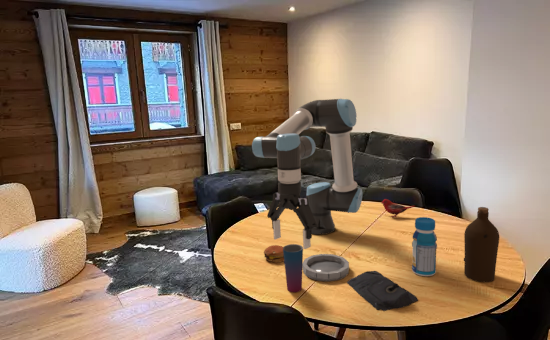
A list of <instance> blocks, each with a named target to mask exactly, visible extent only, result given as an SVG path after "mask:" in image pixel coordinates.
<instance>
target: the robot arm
mask: <svg viewBox="0 0 550 340" xmlns="http://www.w3.org/2000/svg"><path fill="white" fill-rule="evenodd" d="M357 118H358V117H357V109H356V106H355V104H354V102H353V101H352V100H351V99H349V98H346V99H344V98H332V99H331V98H330V99H329V98H328V99H315V100H313V101H310V102H307V103H305V104H303V105H301V106H300V107H298V108H297V109H296V110H294V111H293V112H292V115H291V116H290V117H289V118H288V119H286V120H285V121H284V122H282V123H281V124H280V125H279V126H277V127H276V128H275V129H274V130H272V131H271V132H270V133H269V134H268V135H265V136H263V135H262V136H257V137H255V138H253V140H252V143H251V149H252V154H253V155H254V156H255V157H256V158H263V159H265V158H266V159H268V158H269V159H277V160H276V161H277V162H276V163H277V181H278V183H277V185H278V186H277V188H278V189H277V192H275V193H273V194H272V201H271V202H270V205H269V209H268V212H267V218H268V219H270V220H271V224H272V225H271V227H272V231H273V240H278V239H280V238H282V236H281V235H282V234H281V233H282V232H281V219H280V216H281V215H282V214H283V212H284V211H285V210H291V211H293V213H295V214H296V216H297V217H298V219H299V221H300V222H301V224H302V226H303V229H302V243H303V245H302V247H303V250H307V249H308V248H311V247H312V246H311V239H312V237H313V235H328V234H331V233H334V231H335V229H336V224H335V222H334V219H333V216H332V212H340V213H342V212H343V213H347V214H351V213H354V214H355V213H357V212H359V210H360V207H361V206H362V201H363V189H362V188H360V187H358V183H357V181H355V180H354V170H353V159H352V157H353V156H352V145H351V136H350V135H351V134H350V133H351V132H352V131H353V130H354V129H353V127H355V126H356V124H357ZM313 127H316V128H319V127H320V128H322V127H323V128H325V133H326V134H328V135H329V140H330V142H329V143H330V148H331V158H332V167H333V178H334V183H332V184H331V182H325V181H324V182H317V183H316V182H315V183H312V184H310V185H308V186H307V187H306V197H304V198H303V197H301V193H302V182H301V180H302V172H301V170H302V169H301V160H304V159H308V158H309V157H311V156H312V155H313V154H314V153H315V151H316V147H317V146H316V142H315V140H314V139H313V138H312V137H311V136H307V135H301V136H300V134H301V133H302V132H304V131H306V130H309V129H311V128H313ZM331 185H332V186H331Z"/></svg>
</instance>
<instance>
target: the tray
mask: <svg viewBox="0 0 550 340" xmlns="http://www.w3.org/2000/svg"><path fill="white" fill-rule="evenodd" d="M349 268H350V262H349V261H348V260H347V259H346V258H345V257H344V256H340V255H336V254H332V253H320V254H312V255H310V256H308V257H306V258H304V259H303V264H302V273H303V274H304V275H305V276H306V277H307V278H309V279H311V280H314V281H319V282H335V281H340V280H343V279H344V278H346V277H347V276H348V275H349V271H350V270H349Z"/></svg>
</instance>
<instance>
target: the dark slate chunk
mask: <svg viewBox="0 0 550 340" xmlns="http://www.w3.org/2000/svg"><path fill="white" fill-rule="evenodd" d="M346 284H347V285H348V286H349V287H351V288H352V289H353V290H354V291H355V292H356V293H357V294H358V295H359V296H360V297H362V299H364V300H365V301H366V302H367V303H368V304H370V306H372V307H373V308H374V309H375V310H376V311H380V310H381V311H383V312H386V311H390V310H395V309H397V310H398V309H402V308H405V307H409V306H410V305H412V304H414V303H415V302H418V300H419V299H418V297H417V296H416V295H414V294H413V293H412V292H411V291H409V290H407V289H405V288H404V287H403V286H402V287H401V286H400V285H399V284H398V283H396V282H395V281H393V280H391V279H390V278H388V277H386V276H384V275H383V273H380V272H379V271H377V270H367V271H364V272H363V273H360V274H358V275H357V276H355V277H352V278H350V279H349V280H348V281H346Z"/></svg>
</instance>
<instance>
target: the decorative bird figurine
mask: <svg viewBox="0 0 550 340" xmlns="http://www.w3.org/2000/svg"><path fill="white" fill-rule="evenodd" d="M380 204H382V205H383V207H384V210H385V211H386V212H387V213H389V214H390V215H391V216H390V215H389V216H388V217H390V218H397V217H399V215H400V214H402V213H404V212H405V211H406V210H409V209H411V208H414V207H416V205H411V206H405V205H402V204H398V203H395V202H392V201H391V200H389V199H387V198H384V199H383V200H382V201H381V202H380Z"/></svg>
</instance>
